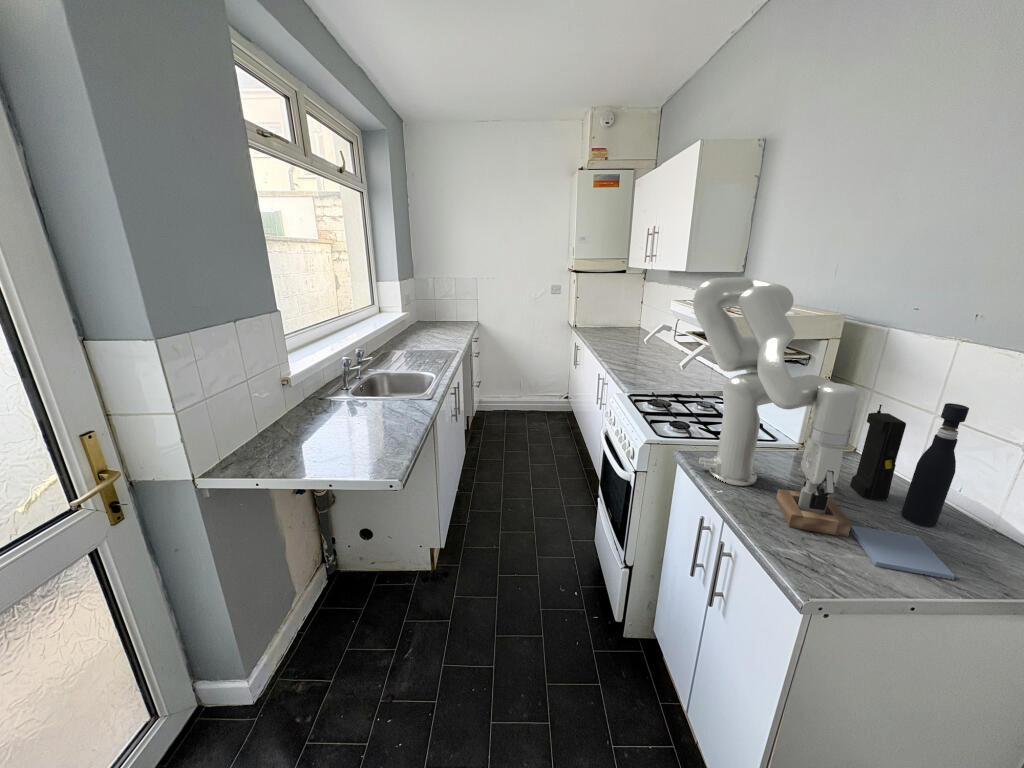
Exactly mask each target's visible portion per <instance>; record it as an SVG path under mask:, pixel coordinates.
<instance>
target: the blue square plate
mask: <svg viewBox="0 0 1024 768" xmlns="http://www.w3.org/2000/svg"><path fill="white" fill-rule="evenodd" d="M849 532H851V533H852V535H853V536H854V538H855V539H856V540H857V542H858V543H859V545H860V546H861V548H862V549H863V550H864V552H865V554H867V556H868V558H869V559H870V560H871V562H872V564H874V566H875V567H879V568H886V569H891V570H896V571H903V572H908V573H914V574H918V573H919V575H923V574H925V575H924V576H929V575H930V576H929V577H934V576H935V578H940V577H942V578H941V579H945V578H947V579H946V580H951V579H952V580H953V581H954V580H955V578H956V575H955V574H954V573H953V572H952V571H951V569H949V568H948V566H947V565H945V563H944V562H943V561H942V560H941V558H939V557H938V556H937V554H935V552H933V550H932V549H931V548H930V547H929V546H928V545H927V544H926V543H925V542H924V541H923V540H922V539H921V537H920V536H918V535H914V534H913V535H912V534H907V533H901V532H893V531H889V530H883V529H882V530H881V529H876V528H869V527H861V526H856V525H851V527H850V531H849Z"/></svg>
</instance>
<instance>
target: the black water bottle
mask: <svg viewBox="0 0 1024 768" xmlns="http://www.w3.org/2000/svg"><path fill="white" fill-rule="evenodd" d="M969 410H970V407H968V406H966V405H963V404H957V403H954V402H953V403H951V402H948V403H944V404H943V409H942V411H941V412H942V413H940V418H941V419H943V422H942V424H941V427H939V428H938V430H937V433H936V434H934V436H933V440H932V443H931V445H930V446H929V447H928V448H927V449H926V450H925V451H924V452H923V453H922V455H921V456H920V458H919V459H918V461H917V462H916V465H915V466H916V467H915V469H914V472H913V475H912V477H911V481H910V484H909V487H908V490H907V494H906V497H905V499H904V503H903V505H902V508H901V511H900V515H901V517H902V518H903V519H905V520H906V521H908V522H910V523H912V524H915V525H916V526H917V525H918V526H921V527H926V528H934V527H936V526H937V524H938V521H939V518H940V515H941V512H942V510H943V507H944V505H945V501H946V499H947V497H948V493H949V491H950V488H951V486H952V485H951V484H952V482H953V479H954V477H955V474H956V468H957V467H956V465H957V464H956V462H957V460H956V453H955V449H956V446H957V443H958V435H959V426H960V423H964V422H965V421H966V419H967V416H968V413H969Z"/></svg>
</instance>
